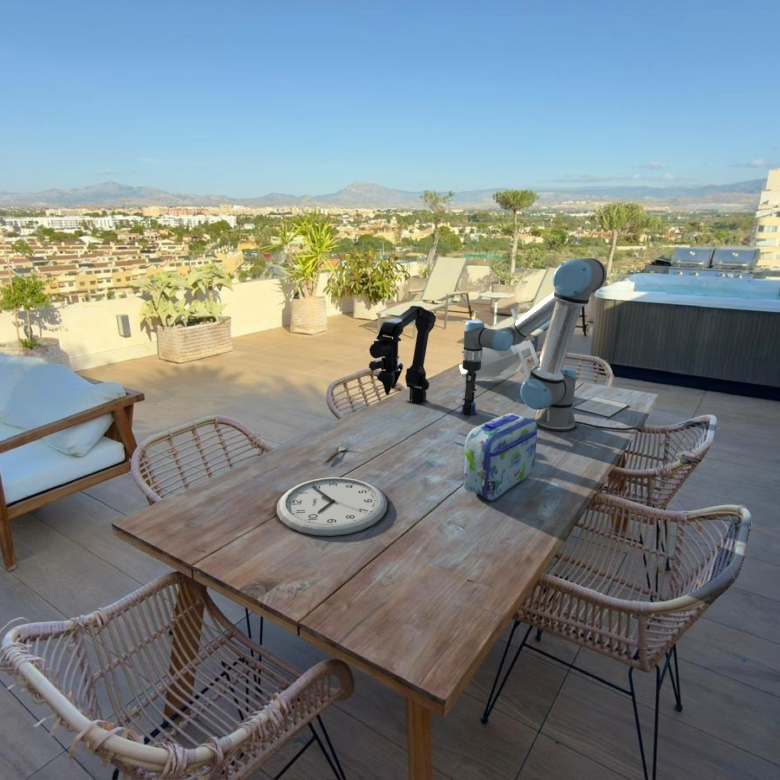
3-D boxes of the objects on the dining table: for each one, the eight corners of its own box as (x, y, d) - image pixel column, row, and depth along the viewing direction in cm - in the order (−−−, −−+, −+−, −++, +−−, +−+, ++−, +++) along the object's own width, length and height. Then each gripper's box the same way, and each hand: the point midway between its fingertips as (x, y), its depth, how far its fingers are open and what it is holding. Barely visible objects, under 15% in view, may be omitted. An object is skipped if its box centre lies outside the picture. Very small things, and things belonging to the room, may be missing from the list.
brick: (462, 410, 219) (463, 401, 218) (475, 411, 218) (475, 402, 216) (461, 413, 215) (462, 404, 214) (474, 415, 214) (475, 405, 213)
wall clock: (392, 527, 129) (268, 531, 127) (391, 533, 130) (269, 537, 127) (383, 473, 158) (282, 475, 155) (383, 478, 158) (282, 480, 156)
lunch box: (487, 508, 142) (493, 436, 136) (456, 493, 150) (460, 425, 143) (537, 478, 160) (544, 414, 154) (507, 466, 167) (513, 405, 161)
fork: (322, 463, 168) (321, 457, 167) (343, 444, 182) (343, 439, 181) (329, 464, 167) (329, 458, 166) (349, 446, 181) (349, 440, 180)
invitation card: (608, 416, 214) (573, 407, 224) (608, 416, 214) (573, 408, 224) (628, 404, 229) (594, 396, 238) (628, 405, 229) (594, 397, 238)
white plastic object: (480, 422, 262) (459, 399, 237) (462, 348, 284) (440, 320, 259) (552, 397, 249) (538, 371, 225) (527, 322, 271) (511, 291, 247)
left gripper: (377, 347, 216) (377, 383, 221) (364, 357, 199) (364, 396, 203) (403, 349, 213) (402, 385, 218) (392, 359, 196) (391, 399, 201)
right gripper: (466, 352, 221) (462, 401, 228) (459, 366, 199) (455, 419, 206) (483, 353, 220) (480, 402, 226) (479, 367, 198) (475, 421, 204)
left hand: (390, 391), depth 210 cm, fingers open, 9 cm apart
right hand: (468, 410), depth 216 cm, fingers open, 11 cm apart
